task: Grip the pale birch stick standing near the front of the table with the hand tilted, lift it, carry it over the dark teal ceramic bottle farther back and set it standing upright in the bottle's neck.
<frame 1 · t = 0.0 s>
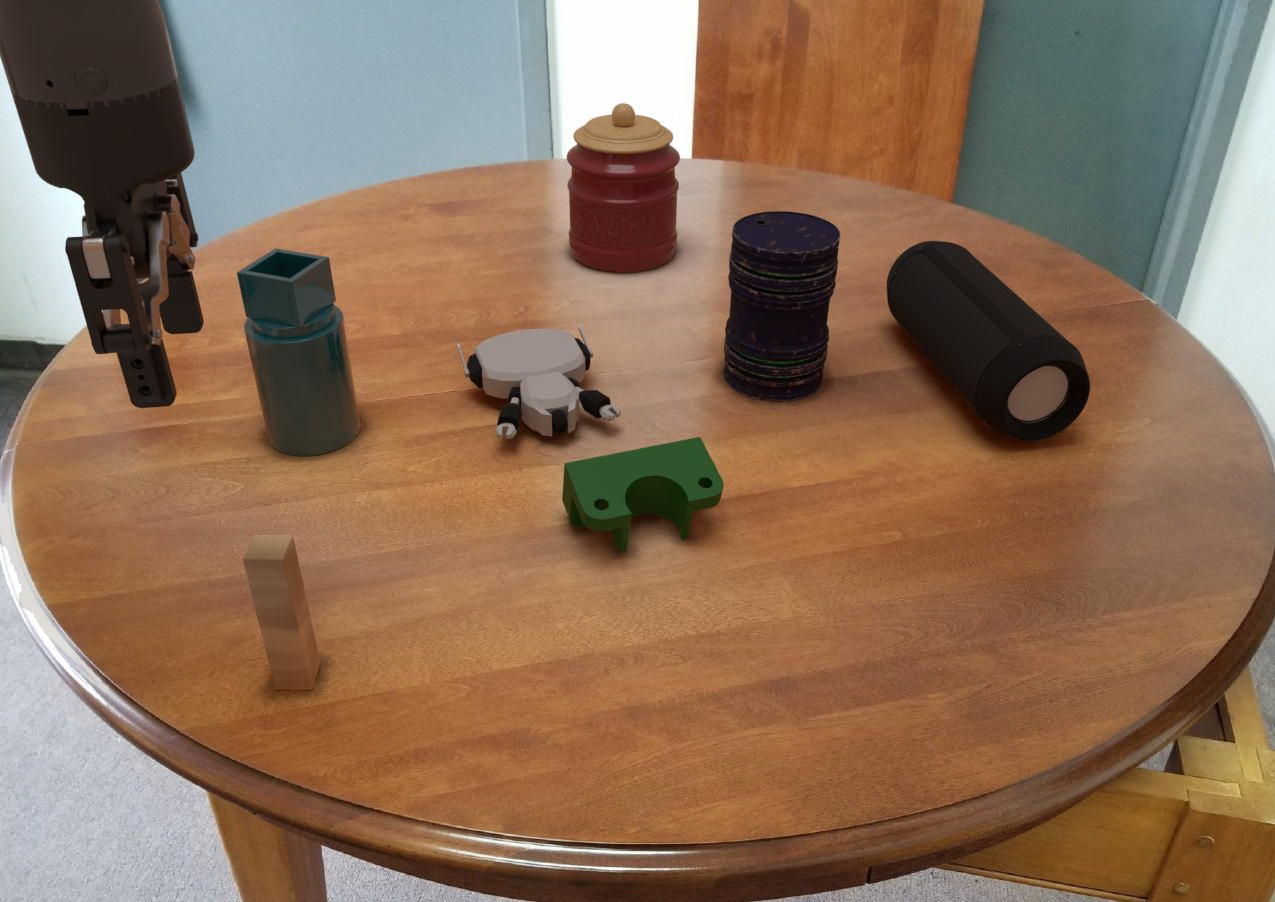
hand: (171, 365, 61), 22 cm above the table, tool pointing down, fingers open, 8 cm apart
robot toy: (540, 407, 100), on the table
dark blue cylinder: (772, 377, 105), on the table
bottle: (314, 431, 95), on the table
stick: (298, 676, 71), on the table
portable speaker: (967, 381, 104), on the table
clamp: (642, 529, 84), on the table
kitchen canister: (623, 253, 129), on the table
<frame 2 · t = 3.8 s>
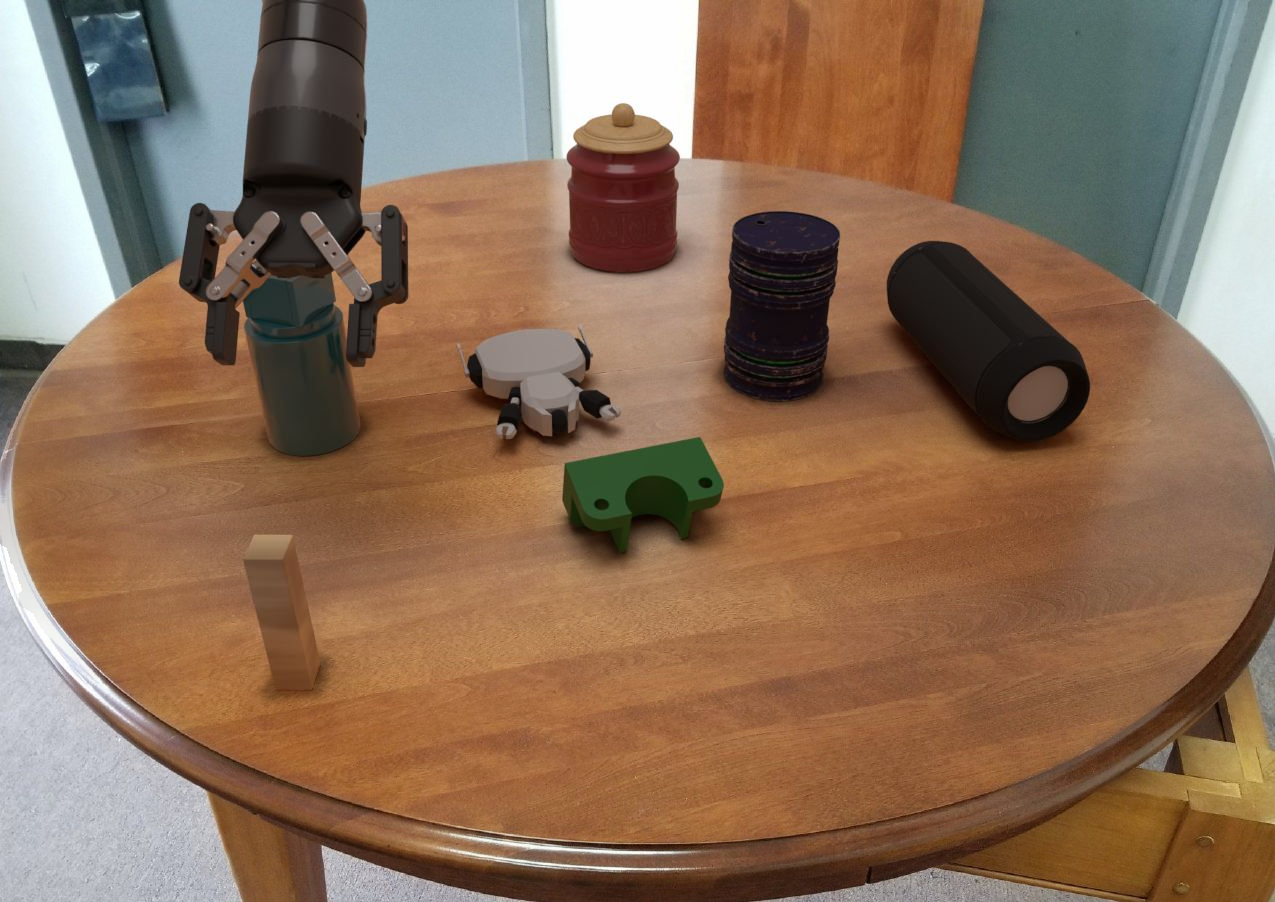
hand: (289, 363, 69), 18 cm above the table, tool tilted 45°, fingers open, 8 cm apart
nothing on the table moved.
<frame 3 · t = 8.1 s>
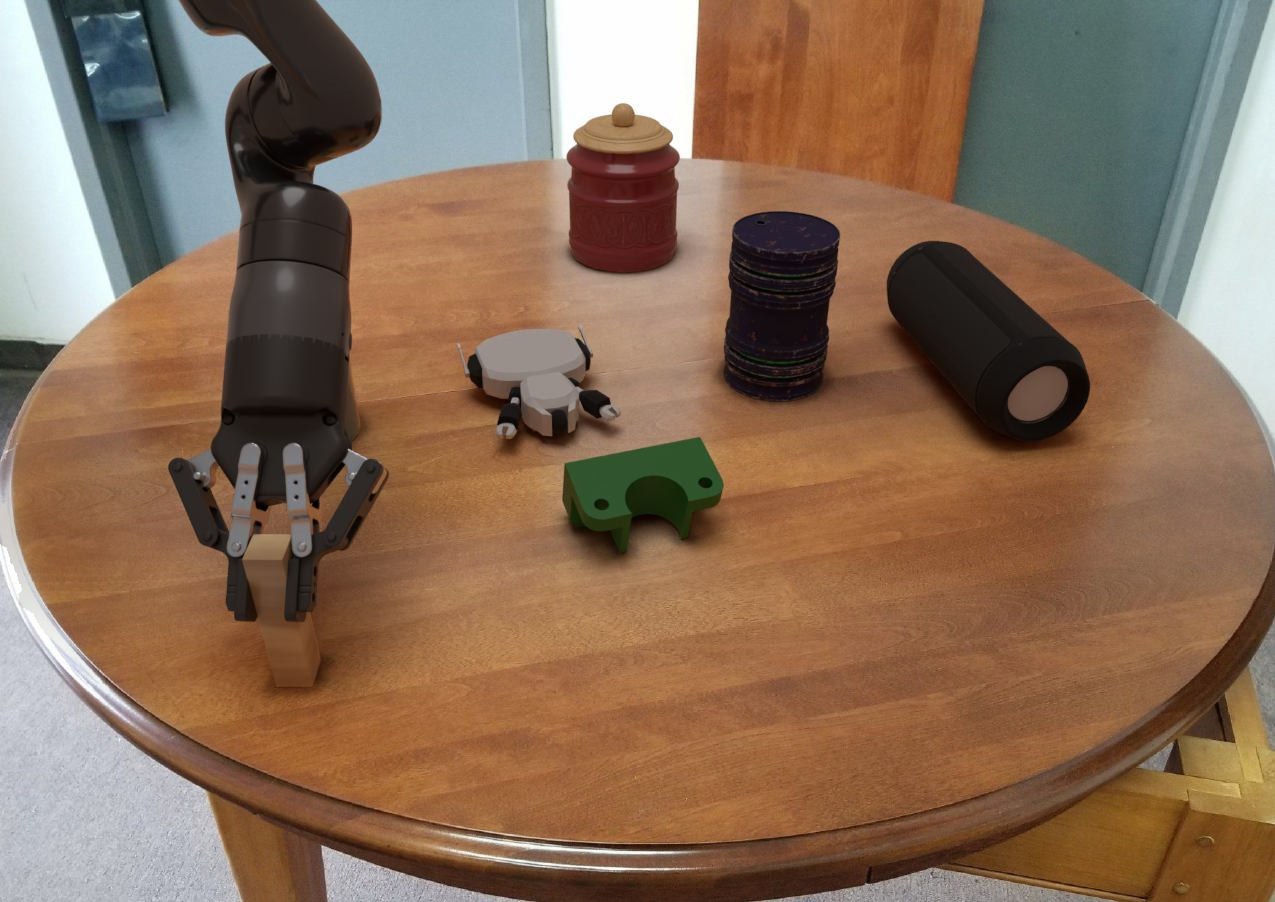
hand: (270, 620, 65), 7 cm above the table, tool tilted 45°, fingers closed on stick, 2 cm apart
stick: (298, 673, 71), on the table, touching gripper
everything else where it was.
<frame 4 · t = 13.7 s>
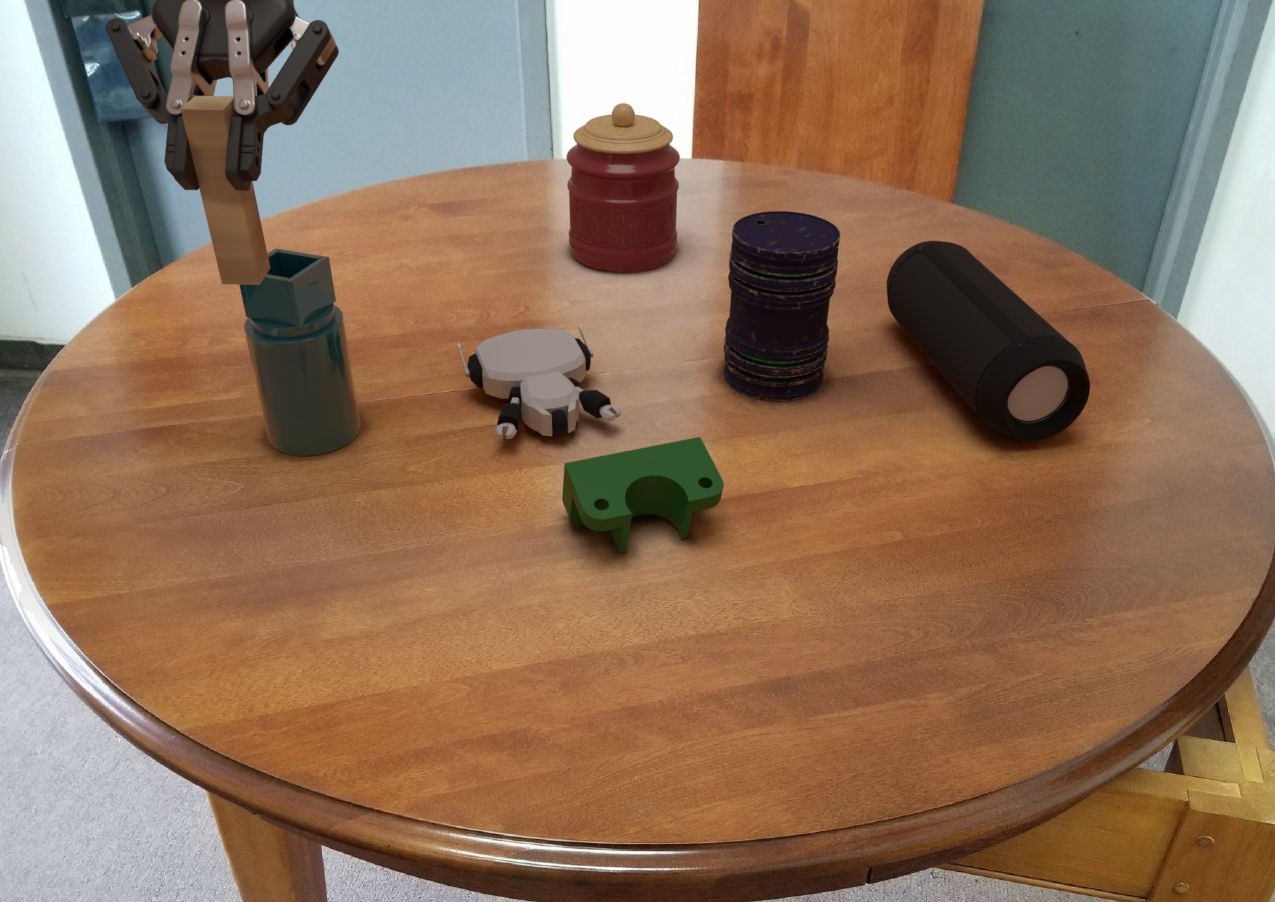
hand: (212, 183, 62), 30 cm above the table, tool tilted 45°, fingers closed on stick, 2 cm apart
stick: (246, 276, 68), point 23 cm above the table, touching gripper
everything else where it was.
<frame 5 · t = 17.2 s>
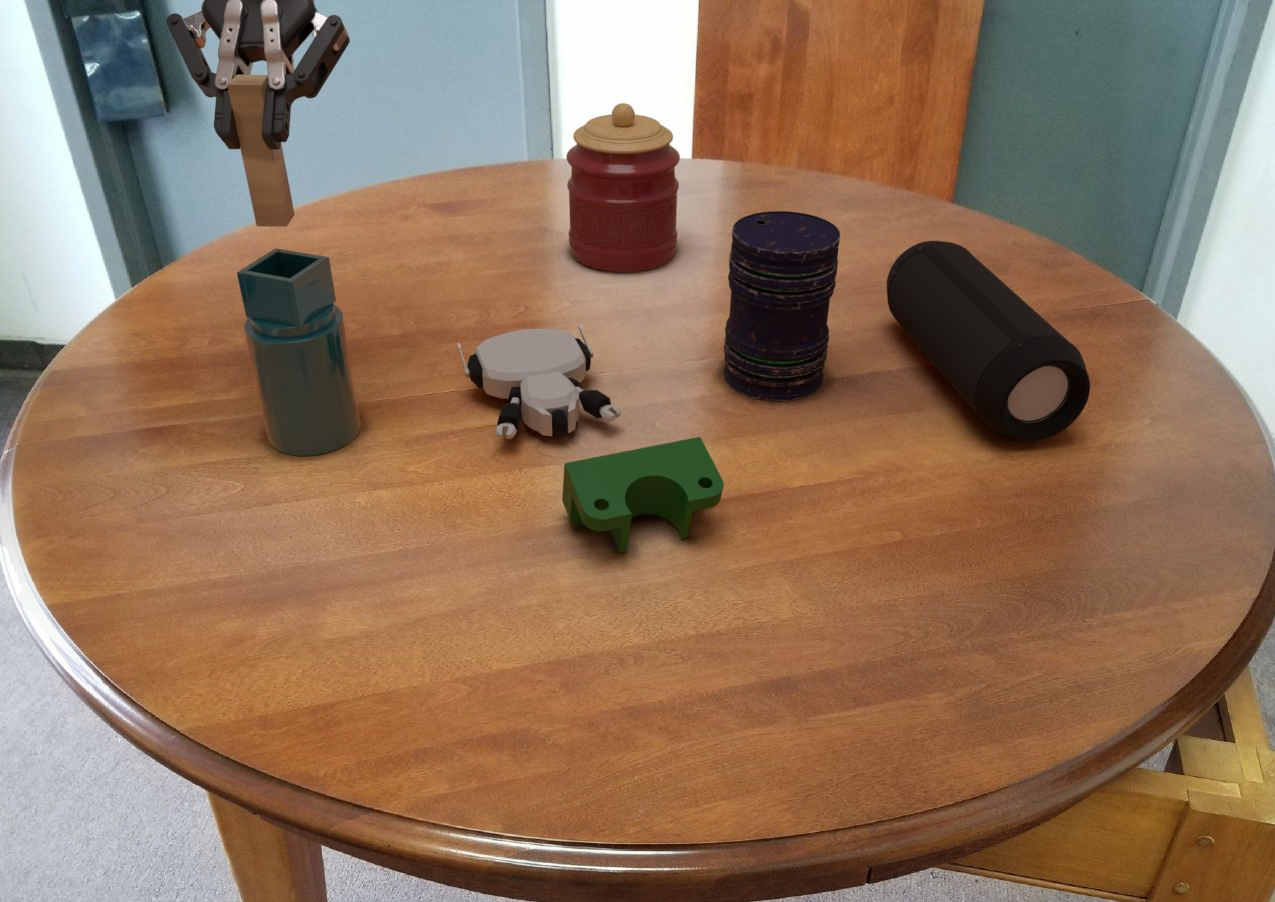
hand: (251, 143, 79), 26 cm above the table, tool tilted 45°, fingers closed on stick, 2 cm apart
stick: (275, 220, 85), point 20 cm above the table, touching gripper
everything else where it was.
when the fingers open (19 cm above the table, at t = 19.6 s): stick stays where it is, resting on bottle.
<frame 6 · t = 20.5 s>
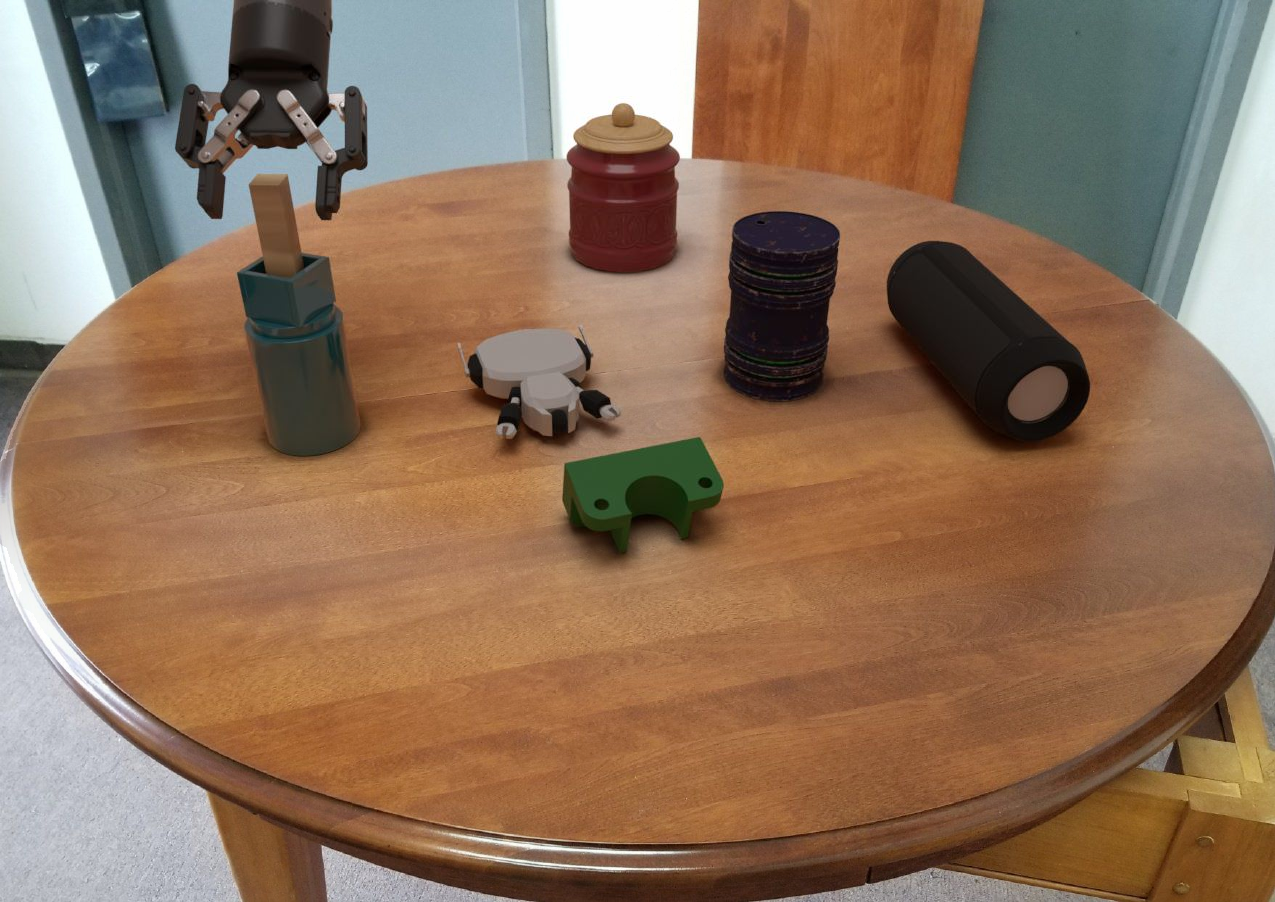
hand: (268, 215, 83), 21 cm above the table, tool tilted 45°, fingers open, 8 cm apart
stick: (292, 307, 89), point 12 cm above the table, touching bottle
everything else where it was.
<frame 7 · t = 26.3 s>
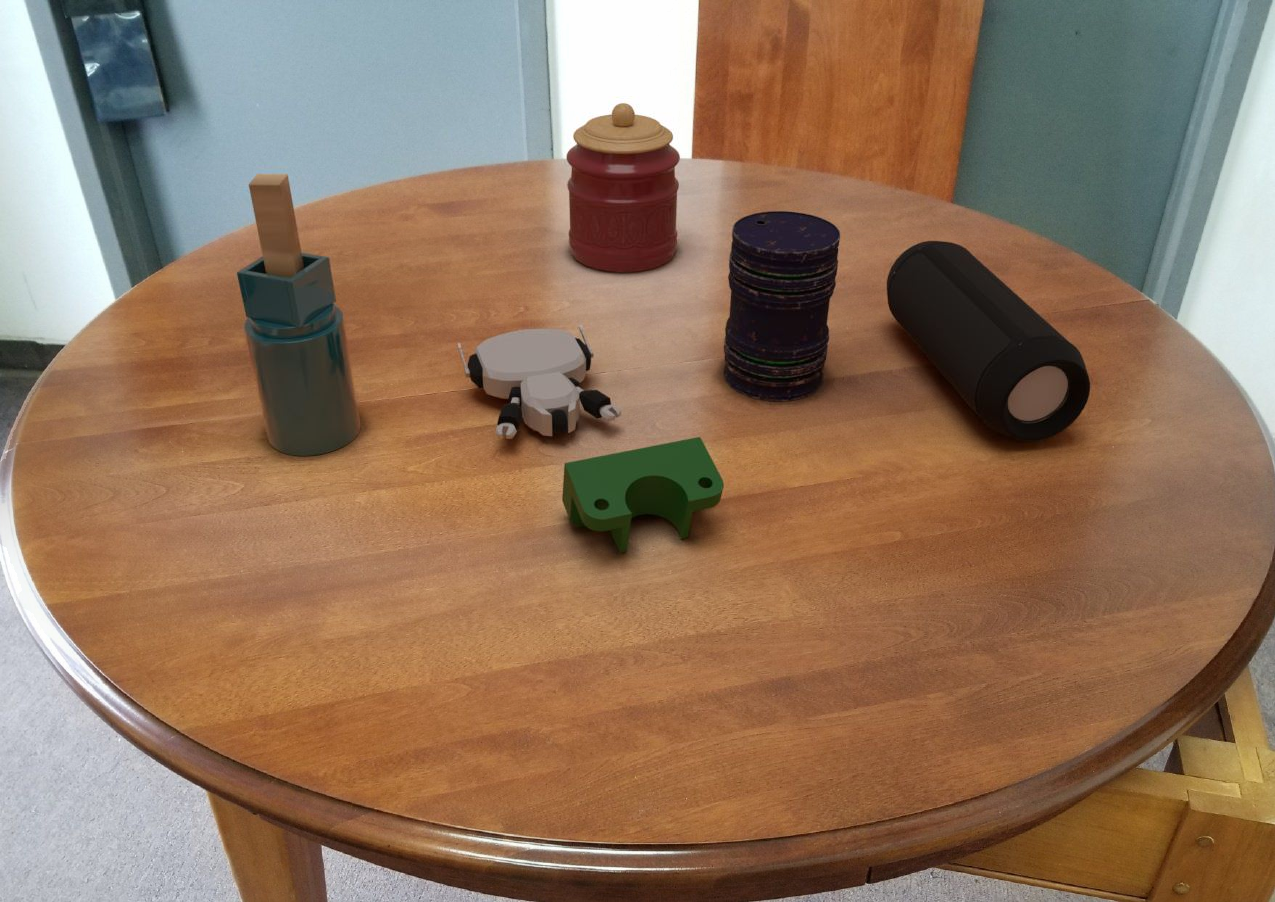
nothing on the table moved.
at the end: stick 0.3 cm off-centre on the bottle, point 12.0 cm above the bottle's base; stick tilted 0°; the gripper is holding nothing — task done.
